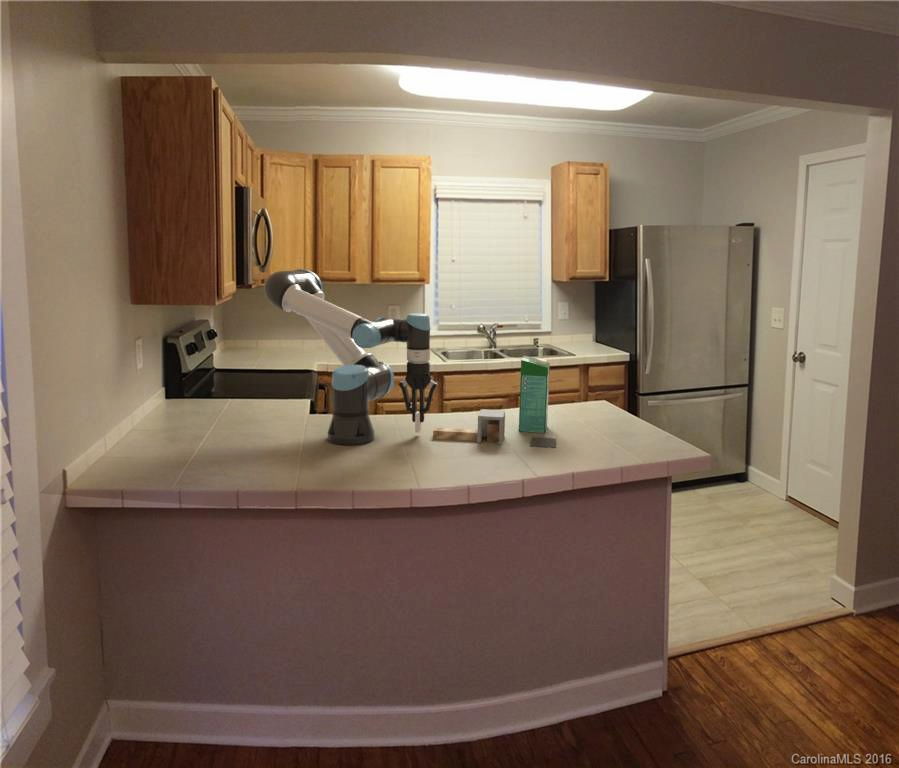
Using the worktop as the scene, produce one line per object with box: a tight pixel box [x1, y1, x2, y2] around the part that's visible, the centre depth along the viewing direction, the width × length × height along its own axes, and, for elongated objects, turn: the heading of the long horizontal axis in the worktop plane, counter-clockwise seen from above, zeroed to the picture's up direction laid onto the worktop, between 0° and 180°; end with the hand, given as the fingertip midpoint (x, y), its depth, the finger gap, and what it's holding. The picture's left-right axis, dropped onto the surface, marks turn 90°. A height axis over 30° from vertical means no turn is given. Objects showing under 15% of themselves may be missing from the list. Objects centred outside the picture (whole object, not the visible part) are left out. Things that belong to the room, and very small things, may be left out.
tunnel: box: [476, 408, 506, 445], centre depth 234 cm, size 8×9×9 cm
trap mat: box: [529, 436, 557, 449], centre depth 232 cm, size 8×10×1 cm
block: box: [486, 420, 505, 444], centre depth 234 cm, size 5×5×6 cm
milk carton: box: [518, 354, 551, 434], centre depth 246 cm, size 9×9×25 cm
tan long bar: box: [432, 427, 484, 442], centre depth 236 cm, size 16×4×3 cm, turn 83°
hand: (418, 431), depth 238 cm, fingers closed
